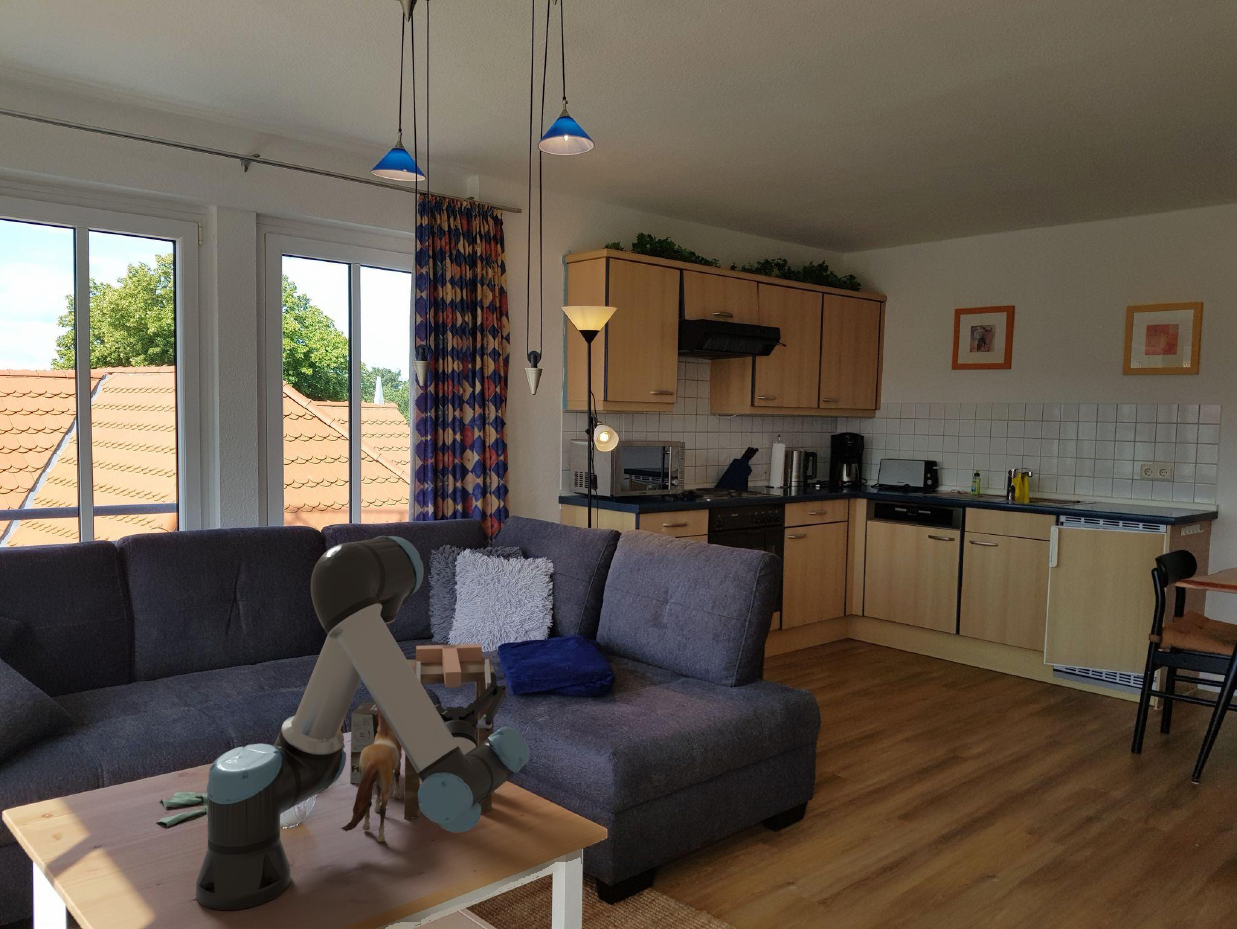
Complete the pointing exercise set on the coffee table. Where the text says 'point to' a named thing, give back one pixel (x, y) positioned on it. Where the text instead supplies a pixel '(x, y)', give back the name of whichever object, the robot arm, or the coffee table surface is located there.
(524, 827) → the coffee table surface
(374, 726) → the coffee box
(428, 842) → the coffee table surface
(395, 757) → the horse figurine
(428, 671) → the walnut table
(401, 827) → the coffee table surface
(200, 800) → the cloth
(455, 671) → the terracotta T
